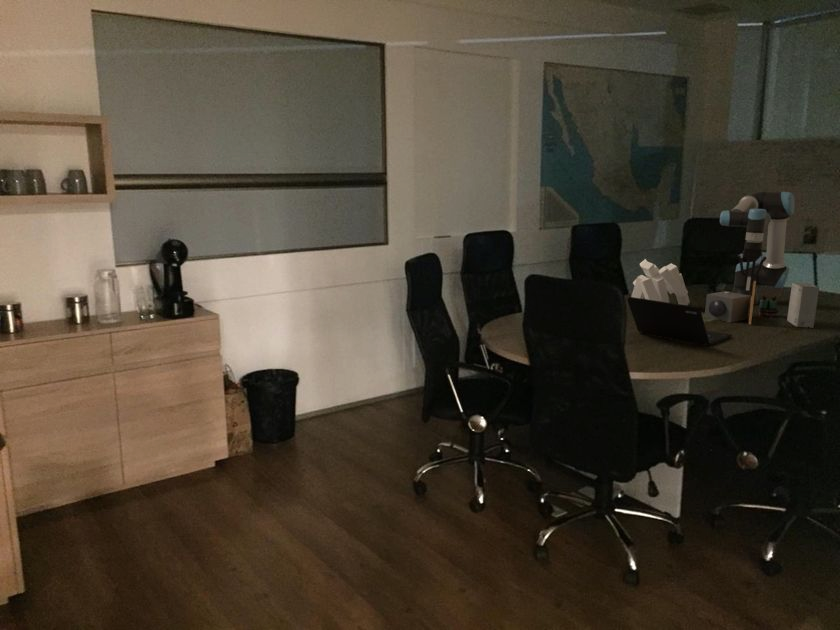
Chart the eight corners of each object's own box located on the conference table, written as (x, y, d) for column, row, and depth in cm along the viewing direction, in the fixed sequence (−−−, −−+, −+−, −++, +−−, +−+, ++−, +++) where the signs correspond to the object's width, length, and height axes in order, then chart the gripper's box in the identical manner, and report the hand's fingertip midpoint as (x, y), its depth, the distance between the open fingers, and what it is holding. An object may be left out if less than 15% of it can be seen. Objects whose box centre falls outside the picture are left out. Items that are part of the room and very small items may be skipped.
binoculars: (762, 299, 339) (759, 294, 348) (760, 319, 342) (756, 313, 351) (782, 300, 336) (778, 295, 346) (779, 320, 340) (775, 314, 349)
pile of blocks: (654, 310, 384) (629, 256, 379) (705, 297, 363) (679, 239, 358) (633, 337, 360) (606, 280, 354) (686, 325, 339) (658, 264, 334)
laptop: (732, 338, 300) (737, 296, 296) (695, 353, 275) (700, 307, 271) (662, 325, 324) (666, 286, 319) (622, 338, 298) (625, 295, 294)
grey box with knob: (721, 313, 351) (724, 290, 348) (747, 318, 339) (750, 294, 337) (702, 317, 340) (704, 293, 338) (728, 323, 329) (730, 297, 326)
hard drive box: (814, 328, 320) (819, 287, 316) (796, 327, 322) (802, 286, 317) (802, 321, 335) (808, 282, 331) (786, 320, 336) (791, 281, 332)
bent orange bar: (748, 317, 339) (753, 277, 334) (750, 318, 338) (755, 277, 334) (748, 324, 325) (753, 281, 320) (750, 324, 324) (756, 281, 320)
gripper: (738, 241, 318) (732, 289, 323) (769, 243, 313) (762, 292, 318) (739, 239, 325) (733, 287, 330) (768, 241, 319) (762, 289, 324)
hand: (747, 289), depth 324 cm, fingers closed
